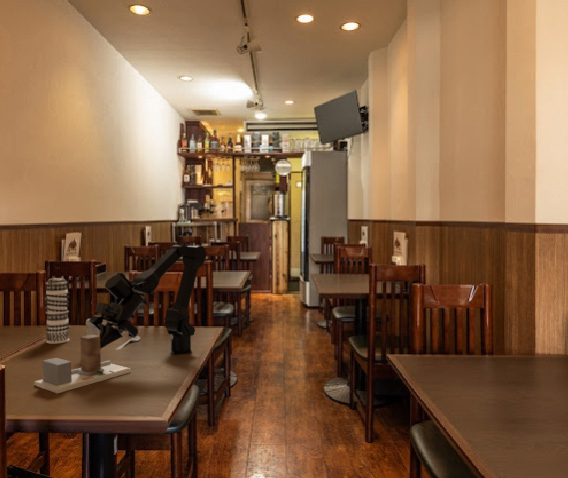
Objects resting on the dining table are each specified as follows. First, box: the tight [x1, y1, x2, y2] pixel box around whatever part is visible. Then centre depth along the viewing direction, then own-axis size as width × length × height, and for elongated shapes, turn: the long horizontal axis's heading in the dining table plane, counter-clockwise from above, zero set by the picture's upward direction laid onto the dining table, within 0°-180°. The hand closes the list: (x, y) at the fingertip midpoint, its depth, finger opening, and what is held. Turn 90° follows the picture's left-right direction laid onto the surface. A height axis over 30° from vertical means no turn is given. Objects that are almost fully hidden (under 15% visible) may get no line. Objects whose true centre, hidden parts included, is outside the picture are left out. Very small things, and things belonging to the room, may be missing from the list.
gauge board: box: [34, 357, 131, 394], centre depth 152 cm, size 24×12×7 cm, turn 143°
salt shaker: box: [85, 318, 102, 352], centre depth 178 cm, size 6×6×13 cm
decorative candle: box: [44, 277, 71, 345], centre depth 201 cm, size 9×9×25 cm
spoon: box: [115, 335, 141, 351], centre depth 194 cm, size 4×21×2 cm, turn 171°
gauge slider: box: [77, 335, 104, 376], centre depth 152 cm, size 5×9×11 cm, turn 53°
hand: (97, 348), depth 155 cm, fingers closed
